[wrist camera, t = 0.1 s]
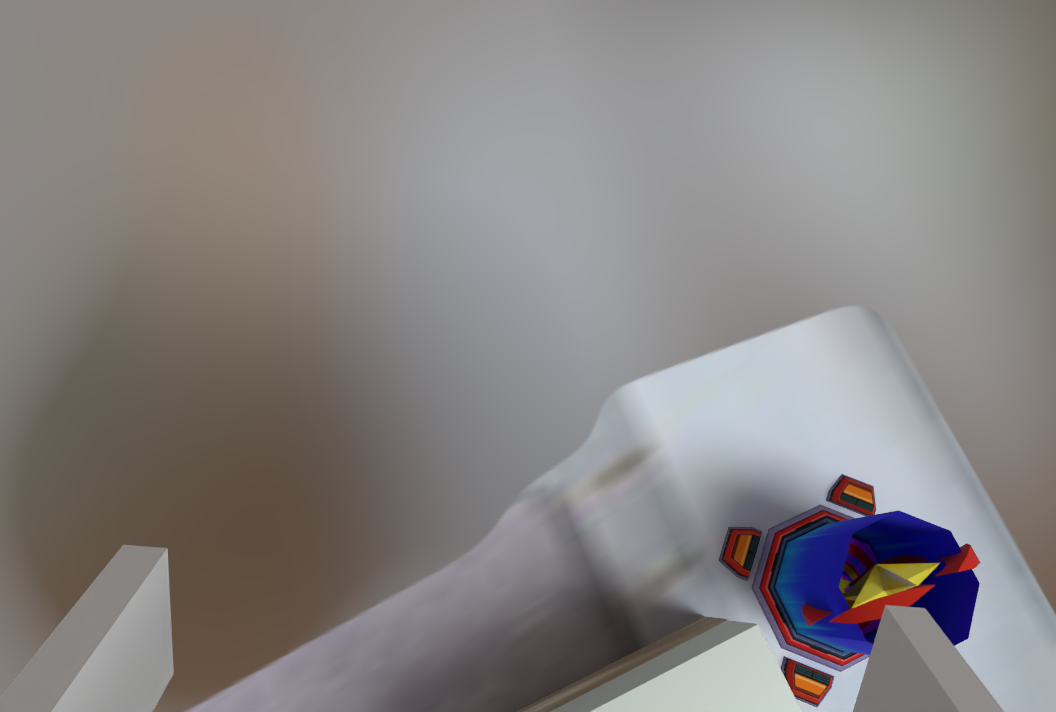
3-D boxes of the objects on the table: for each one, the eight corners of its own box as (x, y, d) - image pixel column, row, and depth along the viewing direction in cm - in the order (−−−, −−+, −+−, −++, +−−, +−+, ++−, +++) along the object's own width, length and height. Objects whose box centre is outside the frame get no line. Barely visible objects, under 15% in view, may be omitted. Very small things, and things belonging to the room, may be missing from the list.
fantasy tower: (861, 463, 54) (970, 429, 42) (954, 635, 51) (1097, 648, 40) (706, 536, 52) (776, 521, 40) (794, 719, 49) (896, 759, 37)
